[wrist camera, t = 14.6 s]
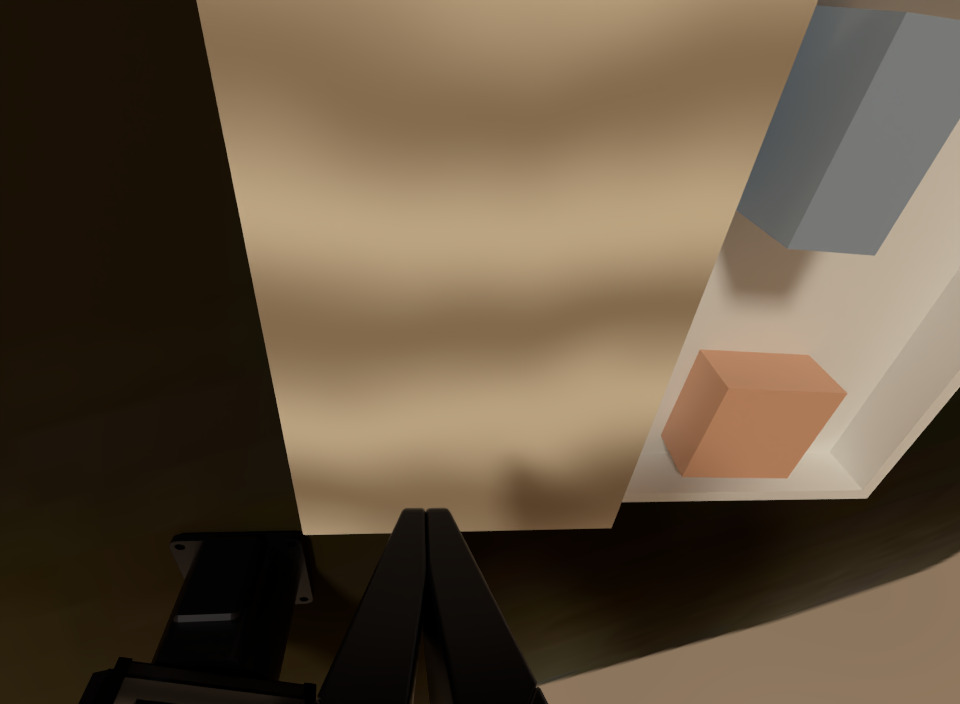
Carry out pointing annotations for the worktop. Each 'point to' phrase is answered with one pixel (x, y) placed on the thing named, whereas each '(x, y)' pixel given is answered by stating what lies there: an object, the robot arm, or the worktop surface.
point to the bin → (835, 334)
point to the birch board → (484, 234)
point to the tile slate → (855, 128)
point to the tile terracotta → (749, 414)
